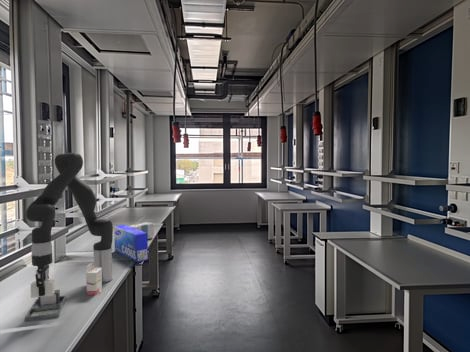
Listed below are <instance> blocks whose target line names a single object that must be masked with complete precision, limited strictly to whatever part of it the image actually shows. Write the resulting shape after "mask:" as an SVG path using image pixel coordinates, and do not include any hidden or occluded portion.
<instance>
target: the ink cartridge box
mask: <svg viewBox="0 0 470 352" xmlns="http://www.w3.org/2000/svg"><path fill="white" fill-rule="evenodd" d="M93 266H94V261H92V262H91V263H89V264H88V265H87V266H86V273H85V274H86V275H85V279H86V295H87V296H88V295H89V296H90V295H97V294H100V293H101V292H102V291H103V282H102V268H94V267H93Z"/></svg>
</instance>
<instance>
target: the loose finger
mask: <svg viewBox="0 0 470 352" xmlns="http://www.w3.org/2000/svg"><path fill="white" fill-rule="evenodd" d="M40 284H42V282H40ZM55 287H56V285H55V278H54V279H48V280H46V281H45V295H44V296H53V295H54V293H55V290H56V288H55ZM44 296H39V289H38V287H37V286H36V280H33V281H32V282H31V283H30V298H31V299H34V298H38V297H44Z"/></svg>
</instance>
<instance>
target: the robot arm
mask: <svg viewBox="0 0 470 352" xmlns="http://www.w3.org/2000/svg"><path fill="white" fill-rule="evenodd" d="M54 166H55V167H56V169H57V171H58V173H59V175H57V176H55V177H54V178H53V179H52V180H51V181H49V182H48V183H47V185H46V186H45V188H44V189H43V190H42V193H41V194H40V195H39V196H38V197H37V198H36V199H35V200H34V201H32V202H31V203H30V204H29V206H27V209H26V212H25V216H26V219H27V220H28V221H29V222H32V223H33V222H35V223H36V222H37V223H39V222H41V226H37V227H35V228H34V227H33V229H32V230H31V248H30V249H31V250H30V251H31V265H32V266H33V267H37V269H36V270H35V276H34V277H35V281H36V286H37V287H38V289H39V296H44V295H45V281H46V280H50V265H51V264H52V263H53V260H54V259H53V243H52V228H53V224H54V221H55V218H56V209H55V208H54V206H55V205H56V204H58V202H59V200H60V198H61V196H62V194H63V193H64V191H65V189H66V188H67V187H68V189H69V190H70V193H71V195H72V196H73V199H74V200H75V202H76V205H77V206H78V208H79V209H80V212H81V214H82V216H83V218H84V220H85V224H86V225H87V228H88V231H89V233H90V234H91V235H92V236H95V237H100V241H97V242H96V243H94V244H93V247H92V248H93V268H102V283H107V282H111V281H112V280H113V256H112V255H113V253H112V251H113V249H112V245H113V240H114V239H113V237H114V226H113V222H112V220H110V219H108V218H107V219H105V218H104V219H103V218H98V216H97V215H96V212H95V209H96V205H97V197H96V196H95V195H96V194H95V193H94V191H93V189H92V187H91V186H89V184H87V183H86V182H84V181H83V180H81V178H79V177H78V176H77V175H78V173H79V172H80V171H81V170H82V169H83V166H84V160H83V157H82V155H81V154H80V153H78V152H66V153H58V154H57V155H56V156H55V157H54ZM40 282H42V284H40Z"/></svg>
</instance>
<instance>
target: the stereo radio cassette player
mask: <svg viewBox="0 0 470 352" xmlns="http://www.w3.org/2000/svg"><path fill="white" fill-rule="evenodd" d="M146 216H147V214H146V215H144V217H142V219H144V218H145V217H146ZM139 222H141V219H139V221H137V222H136V223H135V224H133V225H128V226H129V227H132V228H135V229H137V230H140V231H143V232H145V233H147V240H150V239H151V240H152V239H153V238H154V233H155V230H154V229H155V228H154V227H155V226H154V223H153V222H141V223H139Z"/></svg>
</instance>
